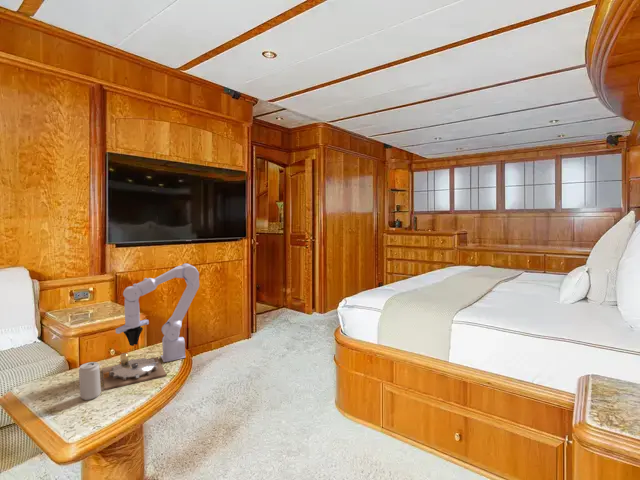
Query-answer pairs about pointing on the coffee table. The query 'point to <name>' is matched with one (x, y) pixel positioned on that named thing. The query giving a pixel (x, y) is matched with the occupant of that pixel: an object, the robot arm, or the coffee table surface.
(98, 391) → the beverage can
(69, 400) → the coffee table surface
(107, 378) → the walnut board
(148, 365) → the sprocket wheel
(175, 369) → the coffee table surface
